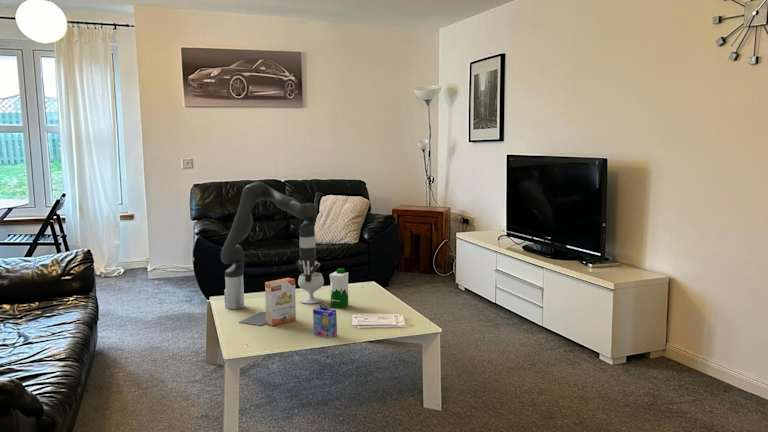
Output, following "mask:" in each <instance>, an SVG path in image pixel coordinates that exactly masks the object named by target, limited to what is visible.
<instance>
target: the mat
mask: <svg viewBox="0 0 768 432" xmlns="http://www.w3.org/2000/svg"><path fill="white" fill-rule="evenodd" d="M238 323H239V324H243V323H244V325H251V326H257V327H258V326H259V327H262V326H264V325H267V324H266V311H259V312H257V313H255V314H253V315H251V316H249V317H247V318H244V319H242V320H240V321H238Z"/></svg>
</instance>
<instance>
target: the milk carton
mask: <svg viewBox="0 0 768 432" xmlns="http://www.w3.org/2000/svg"><path fill="white" fill-rule="evenodd" d="M328 276H329V281H330V308H331V309H340V310H342V309H345V308H347V306H349V272H347V271H345V268H343V267H340V268H336V271H334V272H332V273H330V274H329V275H328Z"/></svg>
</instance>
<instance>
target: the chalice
mask: <svg viewBox="0 0 768 432" xmlns="http://www.w3.org/2000/svg"><path fill="white" fill-rule="evenodd" d="M297 284H298V286H299V288H300V289H302V290H304V291H306V292H307V293H308V294H309V297H303V298H301V299H300V303H301V304H302V303H303V304H309V305H314V304H319V303H321V302H323V299H322V298H321V297H318V296H314V294H315V292H316V291H318V290H319V289H321V288H322V287H323V286H324V284H325V280H324V276H323V275H322V273H320V272H317V271H316V272H315V273H313V274H312V280H311V282H306V281H305V274H304V273H301V274H300V275H299V277H298V280H297Z"/></svg>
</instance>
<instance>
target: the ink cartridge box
mask: <svg viewBox="0 0 768 432" xmlns="http://www.w3.org/2000/svg"><path fill="white" fill-rule="evenodd" d="M312 316H313V317H312V319H313V335H315V336H319V337H322V338H327V339H332V338H334V337H336V336H338V325H337V309H336V308H331V307H327V306H326V305H324V304H319V306H318V307H315V308H313V309H312Z"/></svg>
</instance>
